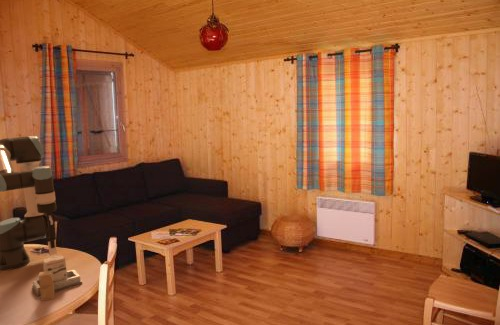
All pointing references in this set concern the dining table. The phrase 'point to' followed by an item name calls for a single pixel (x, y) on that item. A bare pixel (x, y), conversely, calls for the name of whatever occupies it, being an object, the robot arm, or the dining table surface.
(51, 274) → the box
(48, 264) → the ink box
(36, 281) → the rail plate
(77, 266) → the dining table surface
